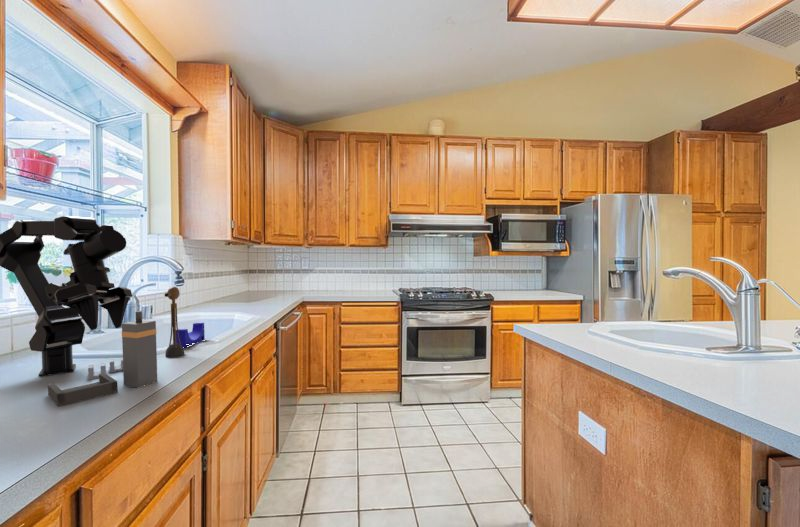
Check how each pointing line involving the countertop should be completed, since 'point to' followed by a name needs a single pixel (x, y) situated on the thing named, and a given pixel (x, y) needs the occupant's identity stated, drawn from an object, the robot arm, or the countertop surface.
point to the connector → (139, 352)
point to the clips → (104, 369)
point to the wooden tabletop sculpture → (174, 326)
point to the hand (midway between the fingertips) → (106, 328)
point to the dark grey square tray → (83, 391)
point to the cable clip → (191, 335)
